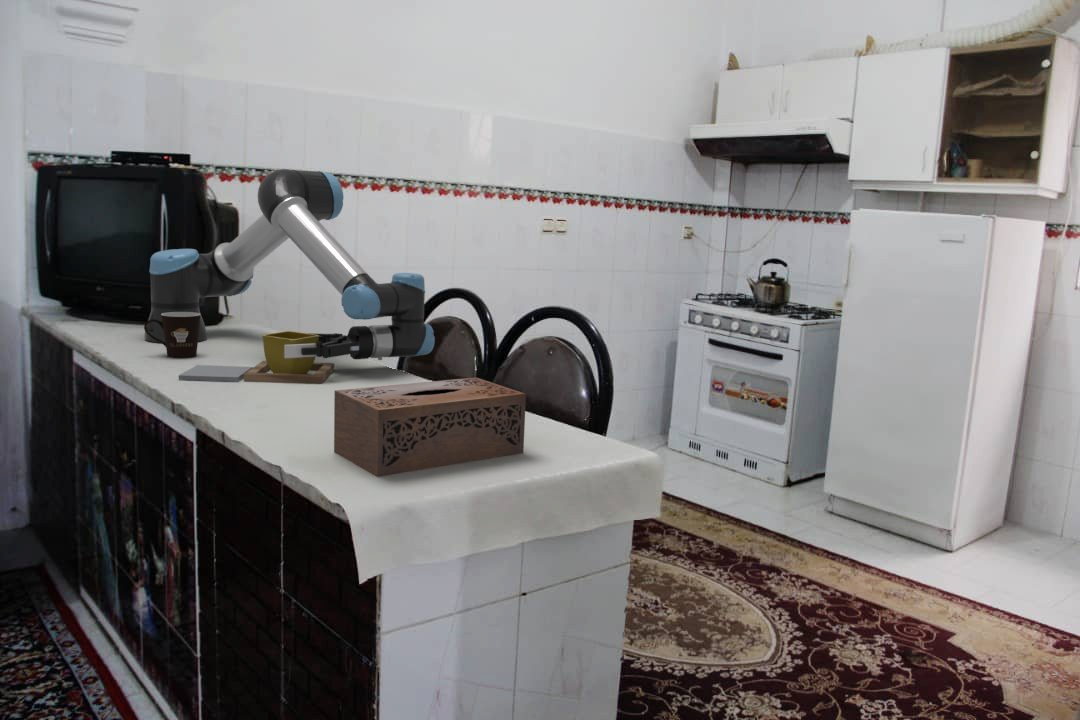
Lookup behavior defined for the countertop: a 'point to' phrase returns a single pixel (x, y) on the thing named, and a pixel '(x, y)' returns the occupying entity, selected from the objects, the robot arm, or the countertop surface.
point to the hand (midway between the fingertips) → (275, 346)
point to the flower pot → (276, 352)
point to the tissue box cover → (427, 424)
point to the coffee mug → (179, 333)
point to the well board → (260, 374)
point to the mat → (215, 373)
